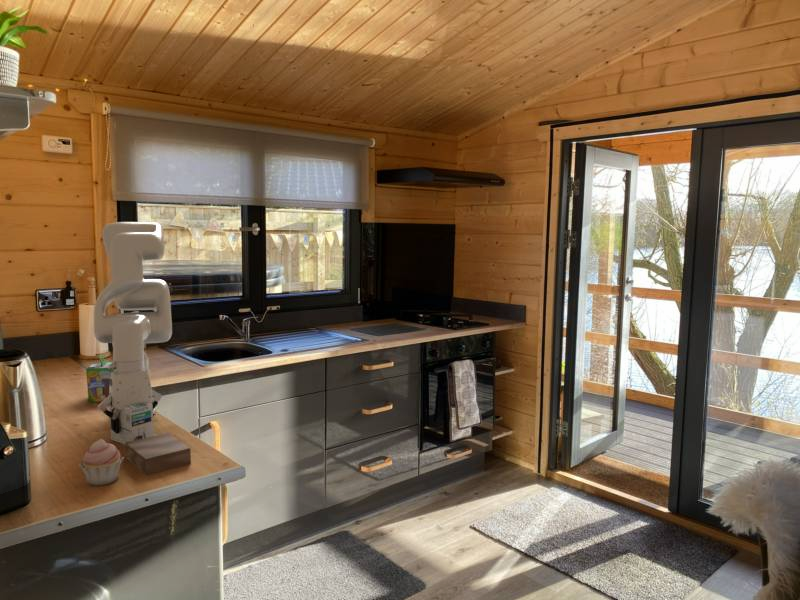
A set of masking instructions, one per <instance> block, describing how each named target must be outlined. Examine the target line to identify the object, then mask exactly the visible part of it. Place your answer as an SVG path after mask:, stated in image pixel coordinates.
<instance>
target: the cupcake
mask: <svg viewBox="0 0 800 600" xmlns="http://www.w3.org/2000/svg"><path fill="white" fill-rule="evenodd" d="M124 459H125V457H124V456H121V453H120V450H119V449H117V447H116V445H114V444H112V443H109V442H106V441H105V440H104V439H102V438H100V439H98V440H96V441H95V442H92V444H91V445H90V446H89V448H88V450H87V451H86V452H85V453H84V456H83V459H82V460H81V462H80V463H79V464H78V465H79V466H80V468H81V470H82V471H83V472H84V476H85V478H86V481H87V484H88V485H91V486H95V487H97V486H106V485H108V484H112V483H114V482H115V481H117V480H118V476H119V472H120V468H121V465H122V462H123V461H124Z"/></svg>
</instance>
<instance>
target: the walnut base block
mask: <svg viewBox="0 0 800 600" xmlns="http://www.w3.org/2000/svg"><path fill="white" fill-rule="evenodd" d="M124 446H125V459H127V460H128V461H129V462H131V463H132V464H133V465H134V466H135V467H136V468H137V469H139V471H141V472H142V473H143V474H144V473H145V474H144V475H145V476H148V474H149V475H151V474H156V473H159V471H160V472H163V471H168V470H171V469H175V468H178V467H182V466H186V465H191V464H192V461H191V458H192V456H191V454H192V453H191V447H190V446H188V445H187V444H186V443H184V442H182V441H180V439H178V438H176V437H175V436H173V435H172V434H171V433H168V432H166V433H162V434H158V435H154V436H152V437H148V438H143V439H139V440H134V441H130V442H125V445H124ZM155 472H156V473H155Z"/></svg>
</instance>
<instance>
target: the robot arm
mask: <svg viewBox="0 0 800 600" xmlns="http://www.w3.org/2000/svg"><path fill="white" fill-rule="evenodd" d="M101 233H102V234H101V235H102V241H103V246H104V249H105V252H106V254H107V256H108V259H109V261H110V282H109V283H108V285H106V287H104V288H103V289H102V290H101V292H100V293H99V295H98V296H97V297H96V300H95V303H94V308H93V334H94V337H95V340H97V341H98V342H99V343H102V344H112V354H113V356H112V357H113V359H112V362H113V363H111V364H108V369H113V370H114V371H113V372H112V373H111V379H110V389H109V396H108V397H107V398H106V399H105V400H103V401H102V402H99V404H98V405H97V408H98V410H100V411H101V412H102V413H103V414H104V415H106V416H107V417H109V419H110V418H111V428H110V431H111V430H113V431H114V432H115V433H116V434H118V433H119V419H118V418H117V416H118V414H119V412H120V411H122V410H124V407H127V406H133V405H139V404H145V403H151V404H153V414H154V415H155V414H156V413H157V409H156V407H157V406H158V404H159V402H160V401H161V399H162V397H163V395H162V393H159V392H157V391H155V390H153V389H152V384H151V383H152V382H151V377H150V373H149V372H150V369H149V368H150V367H149V357H148V355H147V353H146V351H144V349H145V348H144V344H158V343H161V344H162V343H165V342H168V341H169V340H170V339H171V337H172V335H173V321H172V319H173V318H172V305H171V294H170V293H171V292H170V288H169V285H168V283H167V282H166V281H165V280H163V279H160V278H146V279H145V278H144V267H143V262H150V261H151V262H152V261H153V262H155V261H156V262H157V261H161V260H162V259H163V257H164V254H165V234H164V230H163V227H162V225H161V224H160V223H158V222H147V221H146V222H145V221H141V222H139V221H116V222H110V223H108V224H105V226H104V227H102V232H101ZM113 301H114V304H115V306H116V308H118V309H119V310H122V311H133V312H122V313H118V314H116V315H106V309H107V307H108V306H109V305H110V303H112V302H113ZM150 310H151V311H150ZM134 311H138V312H134ZM143 311H144V312H143ZM153 397H154V398H153ZM109 403H110V406H111V407H112V409H111V411H110V410H109V408H108V409H107V406H108V405H109Z"/></svg>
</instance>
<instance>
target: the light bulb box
mask: <svg viewBox="0 0 800 600" xmlns="http://www.w3.org/2000/svg"><path fill="white" fill-rule="evenodd" d="M108 405H109V406H108V410H109V411H111V409H112V407H111V406H110V403H109V404H108ZM117 418H118V419H119V433H118V434H116V433H115V432H114V431H113V430H111V418H110V417H109V422H110V425H109V426H110V440H111V441H114V442H117V443H120V444H122V445H124V446H125V442H130V441H134V440H139V439H143V438H148V437H152V436H155V429H154V415H153V404H151V403H145V404H139V405H133V406H127V407H124V410H122V411H120V412H119V414H118V416H117Z"/></svg>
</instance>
